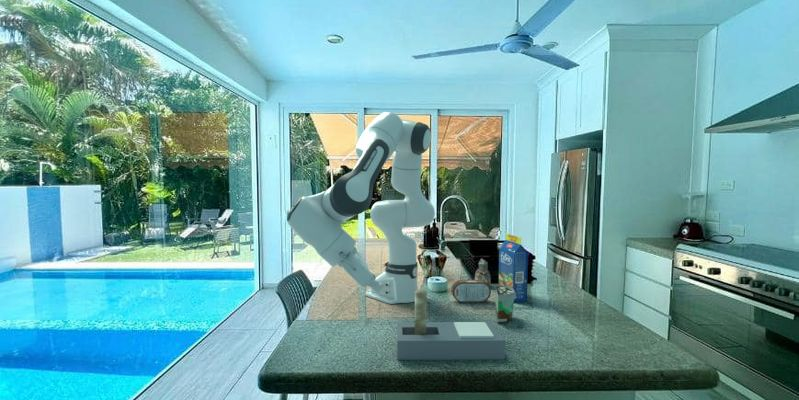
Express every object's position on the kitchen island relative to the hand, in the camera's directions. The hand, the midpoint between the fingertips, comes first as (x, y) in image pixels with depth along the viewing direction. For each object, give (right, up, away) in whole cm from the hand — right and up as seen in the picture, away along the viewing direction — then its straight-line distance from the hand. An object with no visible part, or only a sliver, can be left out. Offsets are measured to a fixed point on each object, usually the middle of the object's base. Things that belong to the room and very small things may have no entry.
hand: (376, 284), depth 93 cm
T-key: (+12, -19, +4) cm, 22 cm away
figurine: (+43, -16, +62) cm, 77 cm away
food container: (+42, -18, +25) cm, 52 cm away
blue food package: (+51, -17, +47) cm, 72 cm away
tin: (+34, -17, +42) cm, 56 cm away
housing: (+19, -19, +4) cm, 27 cm away
